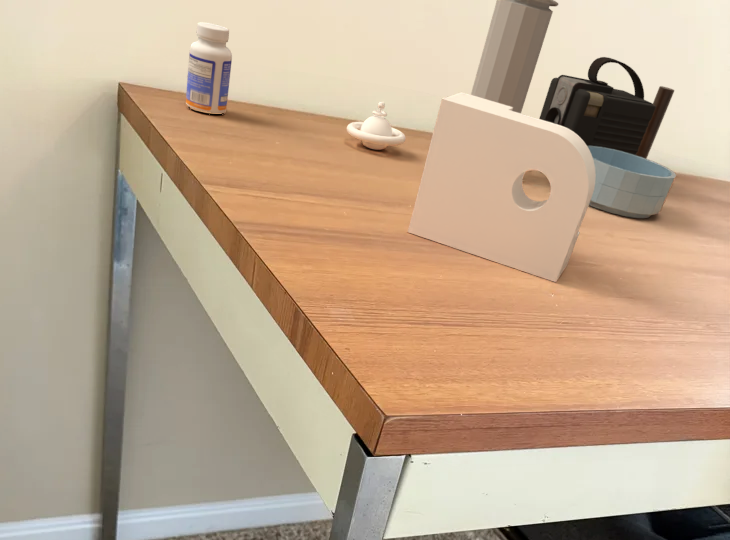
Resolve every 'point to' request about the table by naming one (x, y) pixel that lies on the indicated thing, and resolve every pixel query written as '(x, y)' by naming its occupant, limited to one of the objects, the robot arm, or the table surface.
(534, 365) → the table surface
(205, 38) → the pill bottle
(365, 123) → the ring around a ball
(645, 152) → the stirring stick
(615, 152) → the bowl
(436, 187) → the white holed block
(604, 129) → the camera
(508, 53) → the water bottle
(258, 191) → the table surface
